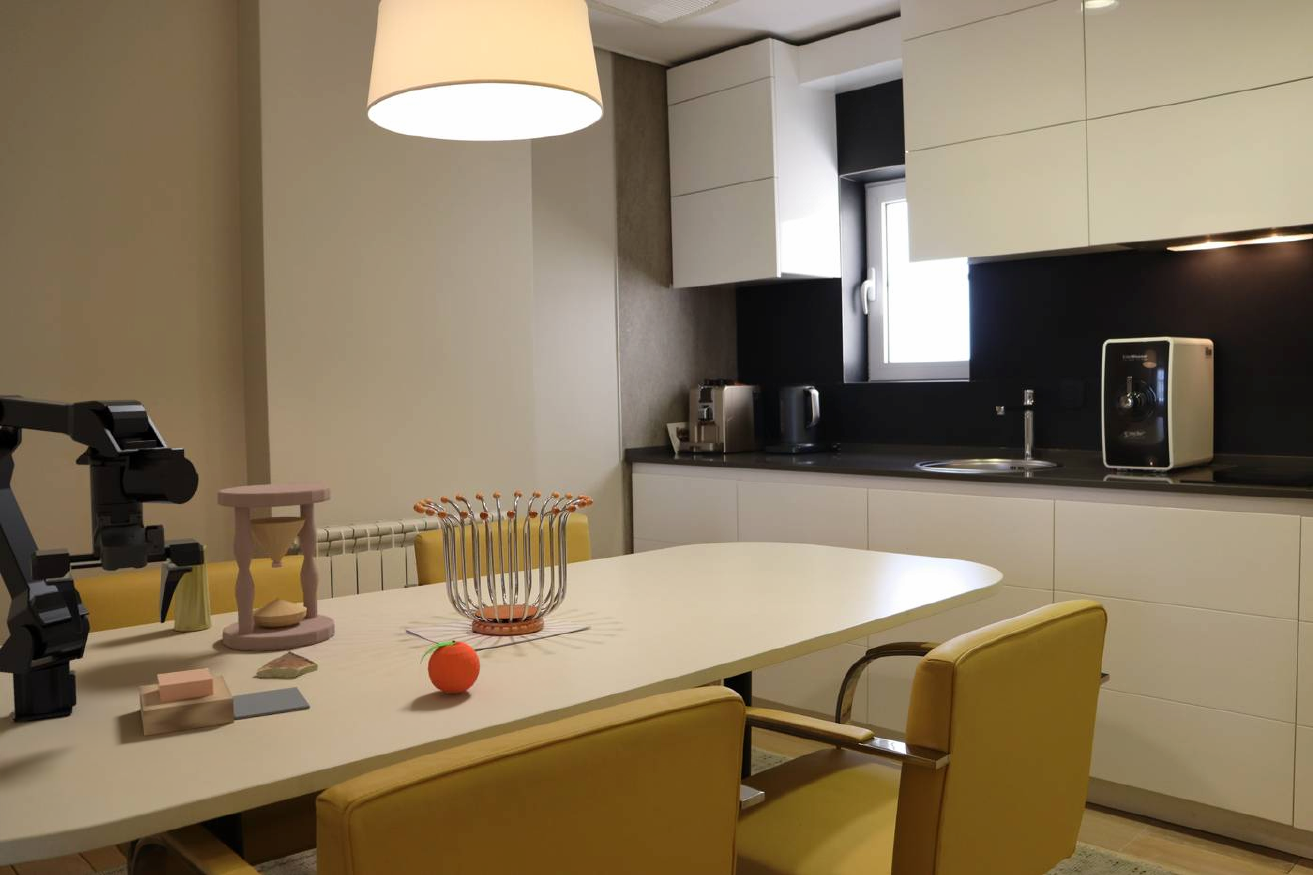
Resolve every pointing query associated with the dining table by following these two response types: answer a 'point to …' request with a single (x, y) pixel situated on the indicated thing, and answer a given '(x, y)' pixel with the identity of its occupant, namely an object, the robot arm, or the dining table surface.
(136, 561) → the robot arm
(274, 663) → the shard
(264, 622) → the hourglass
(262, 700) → the mat
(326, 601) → the dining table surface
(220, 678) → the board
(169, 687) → the pink square block
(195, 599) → the vase
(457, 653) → the clementine
